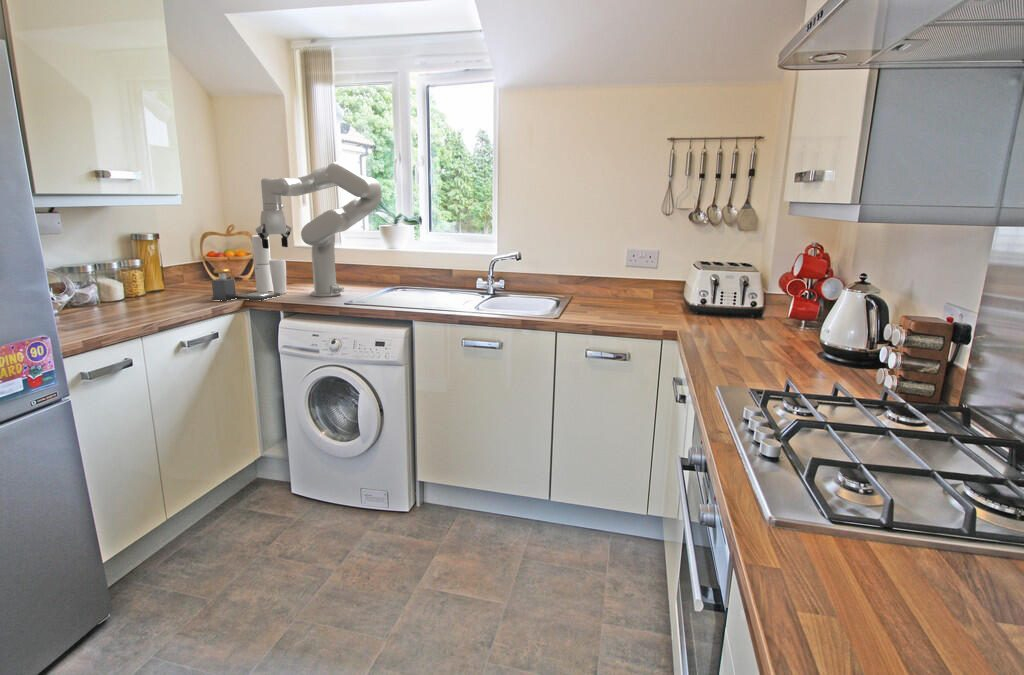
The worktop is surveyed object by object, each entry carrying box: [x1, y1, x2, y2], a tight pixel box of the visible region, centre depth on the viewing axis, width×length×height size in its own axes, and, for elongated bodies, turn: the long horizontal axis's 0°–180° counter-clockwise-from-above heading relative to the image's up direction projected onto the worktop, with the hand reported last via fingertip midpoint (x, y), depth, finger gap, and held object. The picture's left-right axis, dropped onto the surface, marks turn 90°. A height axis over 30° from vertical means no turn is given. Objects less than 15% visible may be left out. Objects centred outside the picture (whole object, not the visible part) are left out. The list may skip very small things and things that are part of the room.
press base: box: [211, 278, 281, 302], centre depth 242 cm, size 20×18×8 cm
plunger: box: [213, 268, 231, 280], centre depth 237 cm, size 6×6×8 cm
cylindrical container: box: [250, 234, 274, 292], centre depth 259 cm, size 7×7×25 cm
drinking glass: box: [269, 258, 287, 295], centre depth 255 cm, size 7×7×15 cm
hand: (275, 247), depth 252 cm, fingers open, 9 cm apart
